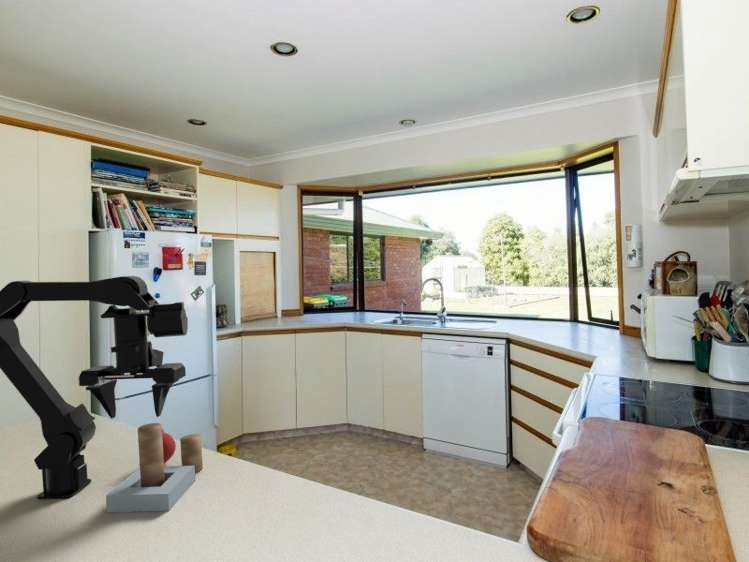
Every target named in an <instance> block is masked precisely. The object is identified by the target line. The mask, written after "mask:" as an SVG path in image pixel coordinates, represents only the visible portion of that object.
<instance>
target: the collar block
mask: <svg viewBox="0 0 749 562" xmlns="http://www.w3.org/2000/svg"><path fill="white" fill-rule="evenodd" d="M164 475H165V483H164V484H163V485H162V486H161V487H141V477H140V467H138V468H137V469H136V470H135V471H134V472H132V473H131V474H130V475H128V477H127V478H125V479H124V480H123V481H122V482H121V483H119V484H118V485H116V487H115V488H113V489H112V490H111V491H110V492H109V493H107V494H106V495H105V502H106V513H134V511H135V512H136V513H137V512H139V511H141V512H166V511H168V512H169V511H170V510H172V509H173V507H174V506H175V504H176V503H178V501H179V500H180V499H181V498H182V496H183V495H184V494H185V493H186V492H187V491H188V490H189V489H190V487H191V486H192V485H193V484H194V483H195V482H196V474H195V466H182V465H174V466H172V465H171V466H170V465H169V466H167V465H166V466H164ZM194 481H195V482H194ZM193 482H194V483H193ZM192 483H193V484H192ZM191 484H192V485H191ZM187 489H188V490H187ZM139 513H140V512H139Z"/></svg>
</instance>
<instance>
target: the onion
mask: <svg viewBox="0 0 749 562" xmlns="http://www.w3.org/2000/svg"><path fill="white" fill-rule="evenodd" d="M164 430H165V429H164V428H163V427H162V440H163V457H164V465H165V464H166V463H167V462H168V461H169V460H171V458H172V457H173V455H174V454H175V451H176V447H177V445H176V442H175V439H174V438H173V436H171V435H170V434H168V433H167V432H165V431H164Z"/></svg>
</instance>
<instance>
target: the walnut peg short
mask: <svg viewBox="0 0 749 562" xmlns="http://www.w3.org/2000/svg"><path fill="white" fill-rule="evenodd" d="M179 440H180V458H181V466H195V473H197V474H199V473H200V471H201V470H202V469H204V467H203V464H204V463H203V449H202V448H203V447H202V436H201V434H198V433H191V434H188V435H184V436H182V437H180V438H179ZM202 471H203V470H202ZM202 471H201V472H202ZM198 472H199V473H198Z"/></svg>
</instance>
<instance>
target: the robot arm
mask: <svg viewBox="0 0 749 562" xmlns="http://www.w3.org/2000/svg"><path fill="white" fill-rule="evenodd" d="M62 301H63V302H68V301H70V302H71V301H74V302H75V301H77V302H78V301H79V302H81V301H84V302H85V301H89V302H96V303H100V304H104V305H109V306H108V308H107V309H106V310H105V311H104V312H103V313H102V314H100V318H101V319H113V321H112V322H113V332H114V333H113V334H114V335H113V336H114V346H111V347H110V352H111V354H112V353H114V355H115V366H113V365H110V364H109V365H96V366H92V367H90V368H87V369H83V370H81V372H80V374H79V376H78V378H77V379H78V386H79V387H85V391H90V393H91V394H93V396H94V397H95V398H96V399H97V401H98V402H99V403H100V405H101V406H102V407H103V409H104V410H105V412H106V414H108V415H107V416H108V417H109V418H110V419H114V418H116V415H117V407H116V393H115V389H116V386H117V385H116V384H117V382H118V380H135V379H137V380H139V379H152V380H153V382H155V383H154V384H152V385H151V391H152V399H153V407H154V412H155V416H156V417H157V418H159V417H161V415H162V414H163V413H162V412H163V409H164V406H165V403H166V399H167V396H168V393H169V392H170V389H171V388H172V386H173V385H174V384H175V383H177V382H179V380H181V379H183V378H184V377H186V375H187V374H186V367H185V366H184V364H183V363H182V362H174V363H173V362H172V363H171V362H170V363H164V364H163V362H164V361H163V360H164V353H165V352H164V351H163V350H162V351H161V350H159V349H153V344H152V341H149V340H148V333H149V334H150V335H153V337H154V338H167V337H181V336H182V337H183V336H186V335H187V333H188V330H189V329H188V327H189V326H188V325H189V321H188V316H187V313H186V312H187V311H186V309H185V303H184V302H183V301H180V302H174V303H159V302H158V301H157V300H156V299H155V298H154V296H153V295H152V294H151V293H150V292H149V290H148V285H147V284H146V281H145V280H144V279H142V278H141V277H139V276H136V275H126V276H118V277H117V276H116V277H110V278H104V279H100V280H93V281H30V280H14V281H10V282H8V283H7V284H6V285H4V287H3V288H1V290H0V370H1V371H2V373H3V374H4V376H6V378H7V379H8V380H9V382H10V383H11V384H12V385H13V386H14V388H15V389H16V390H17V391H18V393H19V394H20V396H21V397H22V398H23V399H24V400H25V402H26V403H27V405H28V406H29V407H30V409H32V411H34V413H35V414H36V416H37V417H38V419H39V420H40V426H41V427H40V428H41V432H42V437H43V440H44V441H45V443H46V445H47V446H46V447H45V448H44V449H43V450H42V451H41V452H40V453H39V454H38V455H37V456H36V457H35V458H34V459H33V460H34V463H35V466H36V467H37V469H38V470H41V475H42V476H41V478H42V490H43V491H42V492H40V493H38V494H37V496H36V499H65V498H66V499H68V498H71V497H73V496H74V495H76V494H77V493H78V492H79V491H81V490H83V489H84V488H85V487H86V486H87V485H89V484H91V482H92V479H91V478H88V464H87V462H86V461H85V454H81V453H82V451H84V450H85V449H86V448H87V444H88V443H89V442H90V441H91V440H92V439H93V437H94V436H95V433H96V429H97V427H96V423H95V421H94V420H96V417H95V416H93V415H91V413H90V412H89V411H88V409H87V407H86V406H85V405H84V403H80V404H78V405H77V406H76V407H75V406H73V405H71V404H70V403H68V402H67V401H66V400H65V399H64V398H63V397H62V395H61V394H60V393H59V392H58V390H57V389H56V387H55V386H54V385H53V384H52V382H51V381H50V380H49V379H48V378H47V376H46V375H45V374H44V372H43V371H42V369H41V368H40V367H39V366H38V365H37V363H36V362H35V361H34V360H33V358H32V357H31V356H30V354H29V353H28V352H27V351H26V349H25V348H24V346H23V345H22V343H21V340H20V339H21V337H20V333H19V328H18V326H17V324H16V322H15V320H16V319H17V318H19V317H20V316H21V315H22V314H23V313H24V311H25V310H26V308H27V307H28V305H29V304H30V303H31V302H62ZM117 306H118V307H117ZM126 306H128V308H127V307H126ZM119 307H125V308H119ZM143 311H144V312H143Z"/></svg>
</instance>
